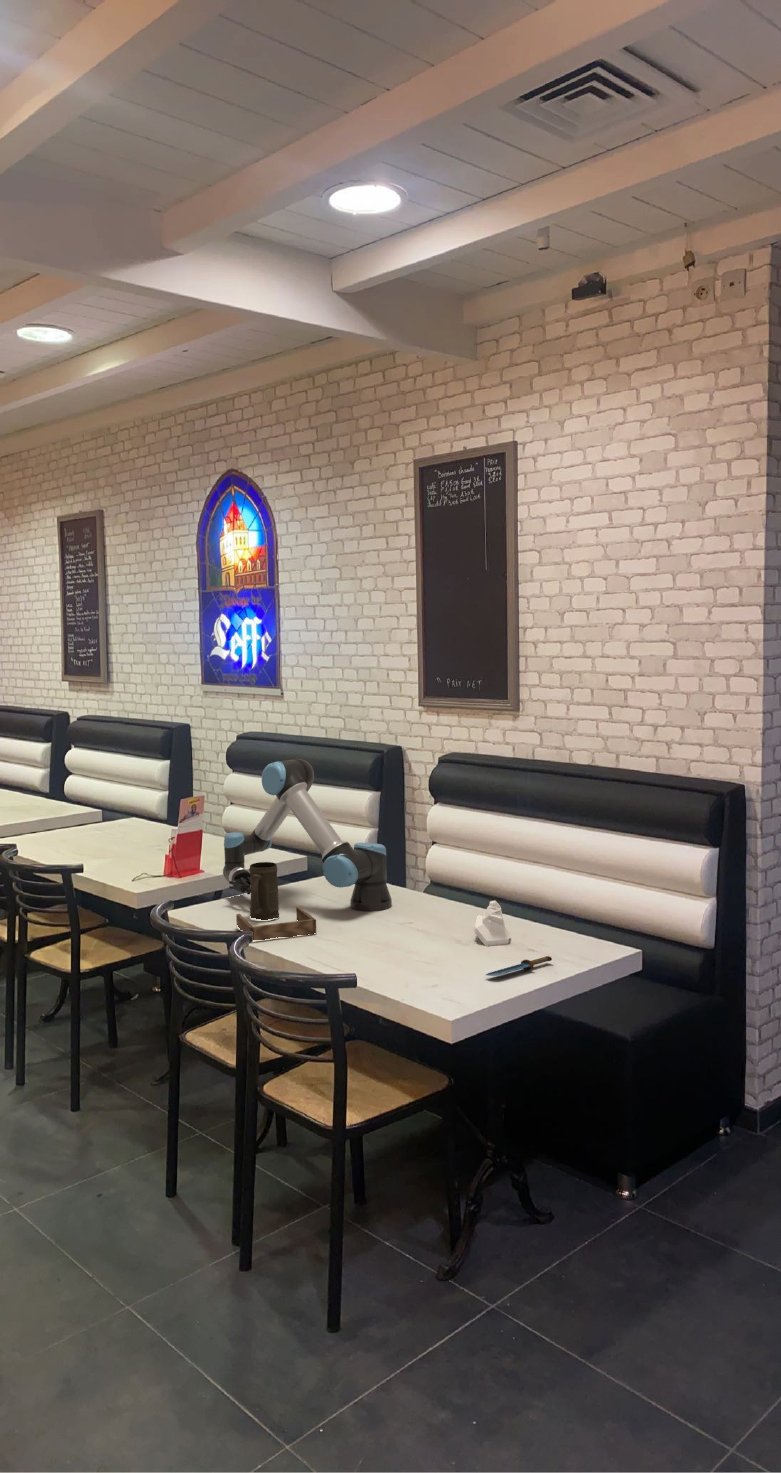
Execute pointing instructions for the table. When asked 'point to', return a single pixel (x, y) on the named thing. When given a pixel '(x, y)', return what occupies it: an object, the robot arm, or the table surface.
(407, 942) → the table surface
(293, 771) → the robot arm
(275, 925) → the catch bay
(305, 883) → the table surface
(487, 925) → the white faceted rock
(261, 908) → the beer stein
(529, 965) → the knife
